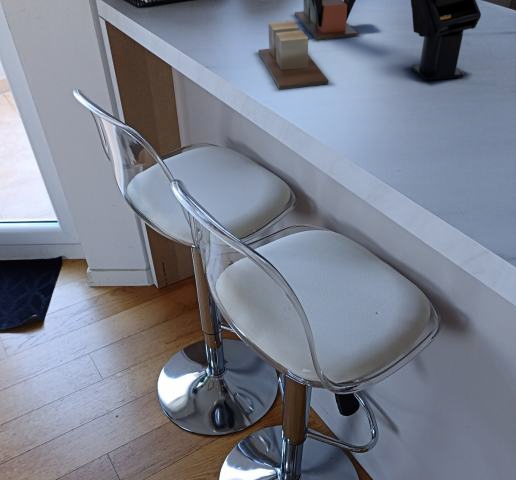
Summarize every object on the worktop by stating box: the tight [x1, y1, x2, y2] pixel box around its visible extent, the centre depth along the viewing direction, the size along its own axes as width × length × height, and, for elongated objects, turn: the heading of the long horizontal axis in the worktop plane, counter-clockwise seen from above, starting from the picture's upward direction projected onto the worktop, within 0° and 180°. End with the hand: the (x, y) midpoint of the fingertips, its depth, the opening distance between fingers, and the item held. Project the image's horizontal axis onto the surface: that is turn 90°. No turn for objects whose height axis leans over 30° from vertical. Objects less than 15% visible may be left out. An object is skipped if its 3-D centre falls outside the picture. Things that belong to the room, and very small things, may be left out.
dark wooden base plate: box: [294, 0, 358, 41], centre depth 107 cm, size 19×8×5 cm, turn 10°
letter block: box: [317, 0, 347, 33], centre depth 103 cm, size 4×4×4 cm
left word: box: [258, 19, 329, 90], centre depth 90 cm, size 19×8×5 cm, turn 10°
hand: (331, 25), depth 104 cm, fingers closed on letter block, 4 cm apart
